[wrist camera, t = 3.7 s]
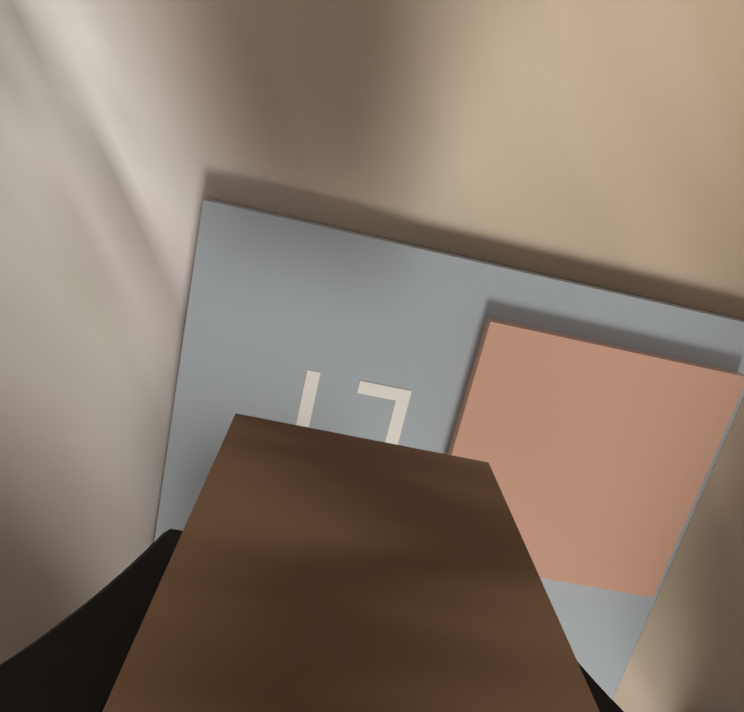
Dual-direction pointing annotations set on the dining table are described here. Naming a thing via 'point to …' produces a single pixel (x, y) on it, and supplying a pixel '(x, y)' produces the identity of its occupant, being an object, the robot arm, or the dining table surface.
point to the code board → (392, 361)
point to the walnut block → (348, 589)
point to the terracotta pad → (593, 448)
